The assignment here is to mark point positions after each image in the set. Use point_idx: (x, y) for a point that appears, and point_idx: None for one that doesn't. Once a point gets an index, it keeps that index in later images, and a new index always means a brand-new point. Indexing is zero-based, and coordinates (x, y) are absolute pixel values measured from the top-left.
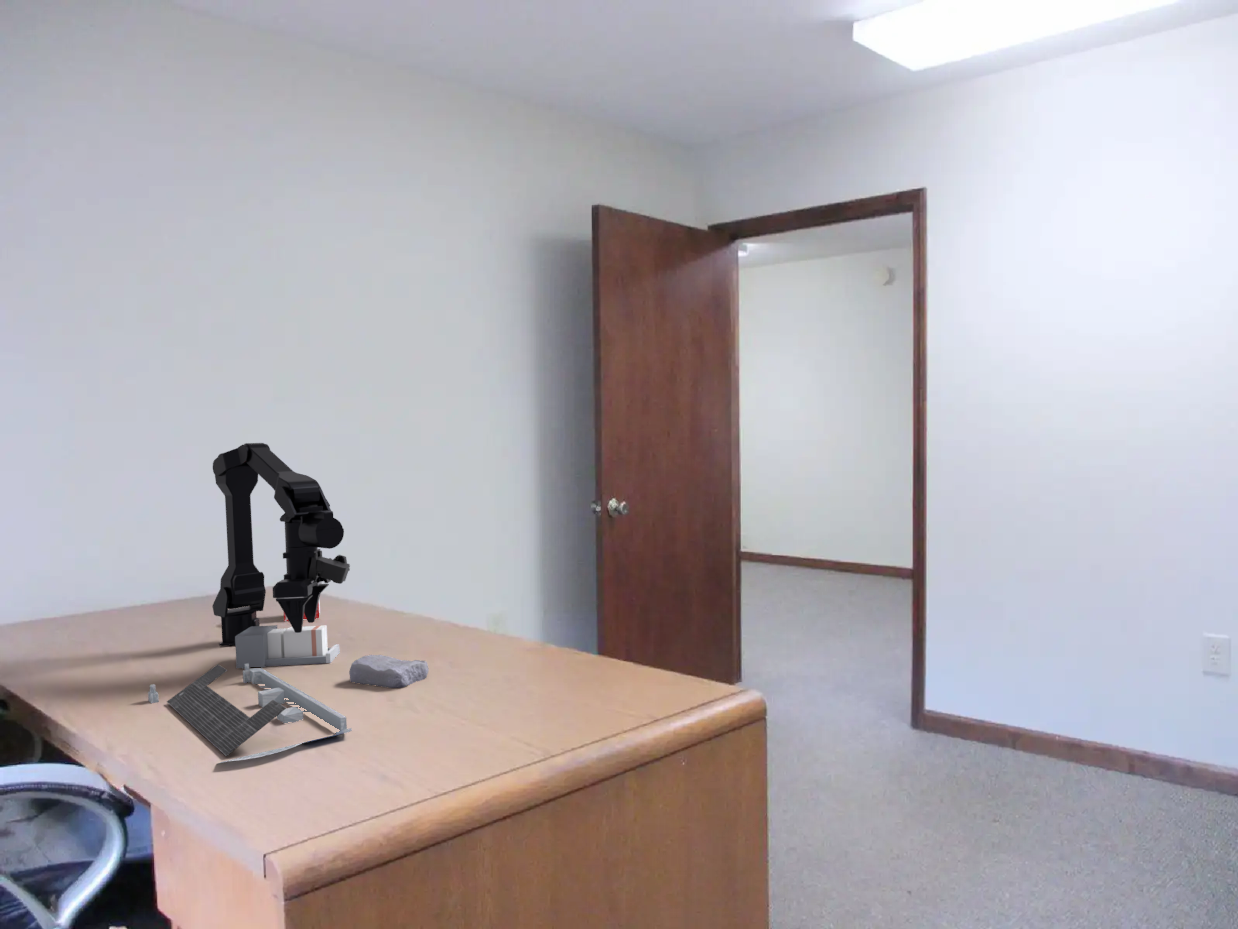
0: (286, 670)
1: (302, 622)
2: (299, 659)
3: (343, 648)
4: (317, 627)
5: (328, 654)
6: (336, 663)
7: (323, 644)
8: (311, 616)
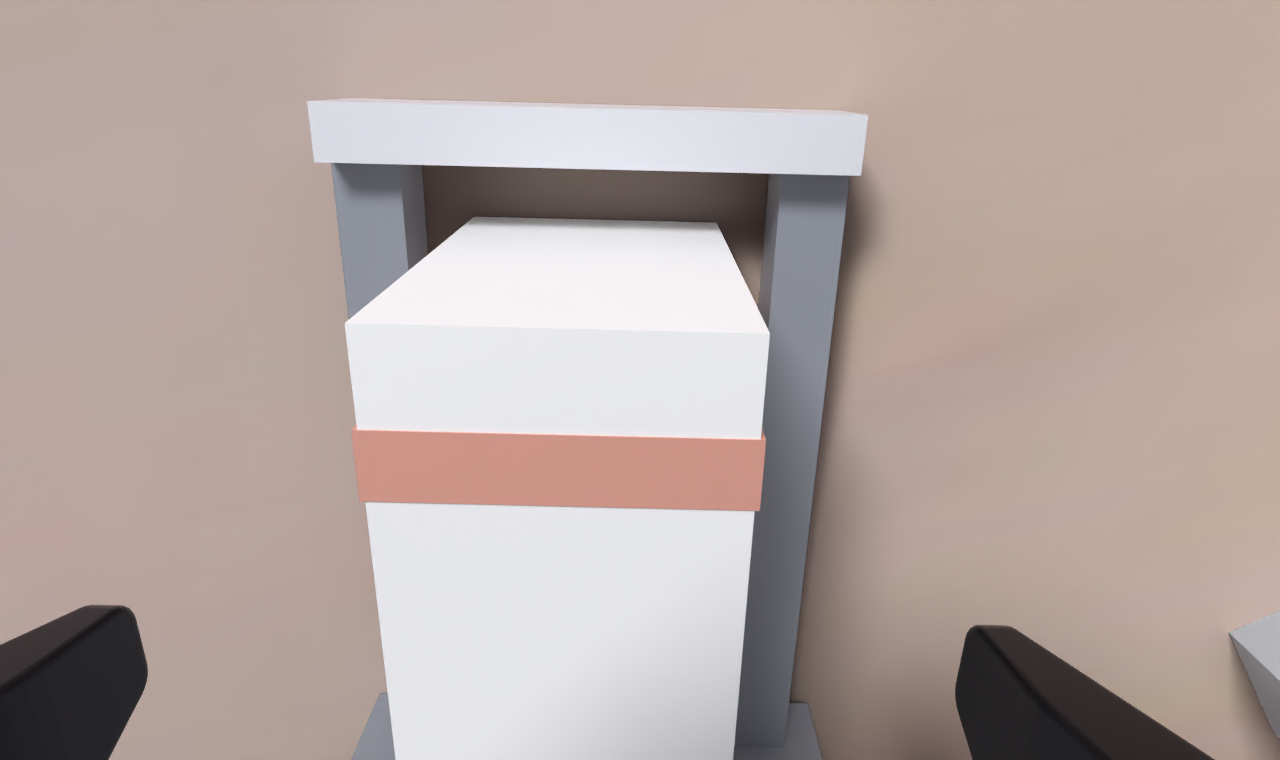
0: (996, 503)
1: (1127, 730)
2: (816, 458)
3: (68, 108)
4: (538, 451)
5: (859, 137)
6: (873, 28)
7: (665, 260)
8: (67, 713)
